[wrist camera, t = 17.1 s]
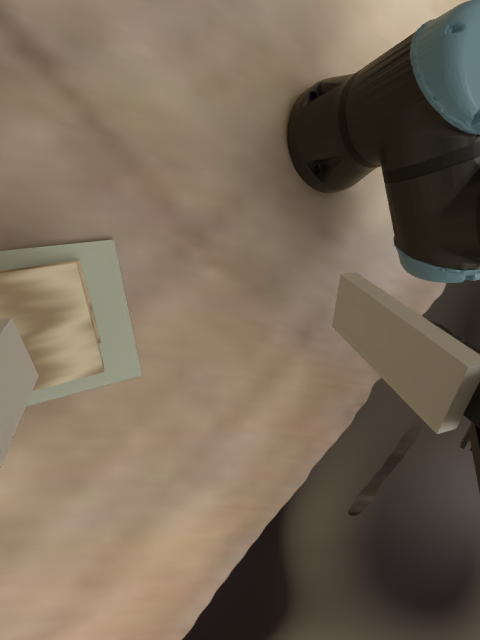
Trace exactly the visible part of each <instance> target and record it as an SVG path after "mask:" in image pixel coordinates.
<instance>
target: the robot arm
mask: <svg viewBox="0 0 480 640" xmlns="http://www.w3.org/2000/svg"><path fill="white" fill-rule="evenodd" d="M288 145H289V151H290V155H291V158H292V161H293V164H294V166H295V168H296V170H297V172H298V173H299V175H300V176H301V177H302V179H303V180H304V181H305V182H306V183H307V184H308V185H310V186H311V187H313V188H314V189H316V190H318V191H322V192H336V191H340V190H344V189H347V188H349V187H351V186H353V185H355V184H356V183H357V182H359V181H360V180H361V179H363V178H364V177H365V176H366V175H368V174H369V173H370V172H372V171H373V170H374V169H375V168H377V167H380V166H381V167H382V172H383V177H384V183H385V188H386V193H387V199H388V204H389V209H390V214H391V219H392V225H393V230H394V235H395V236H394V245H395V247H396V249H397V251H398V255H399V259H400V263H401V265H402V266H403V268H404V269H405V270H406V271H407V272H408V273H409V274H411V275H413V276H415V277H417V278H420V279H423V280H427V281H433V282H443V283H456V282H463V281H464V280H465V279H469V280H473V281H474V280H479V279H480V0H471V1H467V2H464V3H462V4H460V5H458V6H456V7H454V8H453V9H451V10H449V11H448V12H446V13H444V14H443V15H441V16H439V17H438V18H436V19H433V20H430V21H428V22H426V23H424V24H423V25H422V26H421V27H420V28H419V29H418V30H417V31H416V32H415V33H413V34H412V35H410V36H409V37H407V38H406V39H405V40H403V41H402V42H400V43H399V44H397V45H396V46H394V47H393V48H391V49H390V50H389V51H387V52H386V53H384V54H383V55H381V56H380V57H378V58H377V59H375V60H374V61H373V62H371V63H370V64H368V65H367V66H365V67H364V68H362V69H361V70H360V71H358V72H357V73H355V74H349V75H344V76H338V77H332V78H327V79H324V80H322V81H320V82H318V83H316V84H315V85H313V86H312V87H311V88H309V89H308V90H307V91H305V92H304V93H303V94H302V95H301V96H300V98H299V99H298V100H297V102H296V104H295V105H294V107H293V110H292V113H291V116H290V120H289V125H288ZM332 327H333V328H334V329H335V330H336V331H337V332H338V333H339V334H340V335H341V336H342V337H343V338H344V339H345V340H346V341H347V342H348V343H349V344H350V345H351V346H352V347H353V348H354V349H355V350H356V351H357V352H358V353H359V355H360V356H361V357H362V358H363V359H364V360H365V361H366V362H367V363H368V364H369V365H370V366H371V367H372V368H373V369H374V370H375V371H376V372H377V373H378V374H379V375H380V376H381V377H382V378H383V379H384V380H385V381H386V382H387V383H388V384H389V385H390V386H391V387H392V388H393V389H394V390H395V391H396V392H397V394H399V395H400V397H401V398H402V399H403V400H404V401H405V402H406V403H407V404H408V405H409V406H410V407H411V408H412V409H413V410H414V411H415V412H416V413H417V414H418V415H419V416H420V417H421V418H422V419H423V420H424V421H425V422H426V423H427V424H428V425H429V426H430V427H431V428H432V429H433V430H434V431H435V432H436V434H439V433H442V432H446V431H450V430H453V429H457V427H458V425H459V423H460V421H461V419H462V417H463V415H464V416H466V417H467V418H468V419H469V420H470V421H471V422H472V423H471V425H470V427H469V428H468V430H467V432H466V434H465V436H464V438H463V439H462V441H461V445H460V447H461V448H463V449H464V448H465V446H466V444H467V443H468V442H471V449H470V451H472V453H473V458H474V464H475V470H476V475H477V481H478V486H479V491H480V350H479V349H477V348H476V347H474V346H473V345H471V344H470V343H468V342H465V341H464V339H462V338H460V337H459V336H457V335H454V333H453V332H451V331H450V330H448V329H447V328H445V327H444V326H442V325H440V324H437V323H435V322H432V321H430V320H427V319H425V318H424V317H422V316H421V315H419V314H418V313H416V312H415V311H413V310H412V309H410V308H409V307H407V306H406V305H404V304H403V303H401V302H400V301H398V300H396V299H395V298H393V297H392V296H390V295H389V294H387V293H386V292H384V291H383V290H381V289H380V288H378V287H377V286H375V285H374V284H372V283H371V282H369V281H368V280H366V279H365V278H363V277H362V276H360V275H359V274H357V273H349V274H341V276H340V282H339V288H338V294H337V300H336V306H335V312H334V318H333V324H332ZM38 376H39V375H38V373H37V371H36V369H35V367H34V364H33V362H32V360H31V358H30V356H29V353H28V351H27V349H26V347H25V345H24V343H23V340H22V338H21V336H20V334H19V332H18V330H17V327H16V325H15V323H14V321H13V319H12V317H9V318H2V319H0V467H1V465H2V463H3V460H4V458H5V455H6V453H7V451H8V448H9V446H10V443H11V441H12V439H13V436H14V434H15V431H16V429H17V427H18V424H19V422H20V419H21V417H22V415H23V412H24V410H25V408H26V405H27V403H28V400H29V398H30V396H31V393H32V391H33V388H34V386H35V384H36V381H37V379H38Z"/></svg>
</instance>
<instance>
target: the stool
mask: <svg viewBox="0 0 480 640" xmlns="http://www.w3.org/2000/svg"><path fill="white" fill-rule="evenodd" d="M9 317H12V319H13V321H14V323H15V325H16V327H17V330H18V332H19V334H20V336H21V338H22V340H23V343H24V345H25V347H26V349H27V351H28V353H29V356H30V358H31V360H32V362H33V364H34V367H35V369H36V371H37V373H38V375H39V376H38V379H37V381H36V384H35V386H34V388H33V391H35V390H39V389H43V388H46V387H50V386H54V385H58V384H61V383H65V382H69V381H73V380H76V379H80V378H84V377H88V376H91V375H95V374H99V373H103V372H104V364H103V359H102V355H101V351H100V347H99V343H101V340H100V336H99V332H98V328H97V324H96V320H95V316H94V312H93V308H92V304H91V300H90V296H89V292H88V288H87V285H86V281H85V277H84V273H83V269H82V265H81V261H80V260H77V261H69V262H62V263H54V264H47V265H40V266H32V267H25V268H17V269H10V270H2V271H0V319H2V318H9Z"/></svg>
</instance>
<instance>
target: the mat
mask: <svg viewBox="0 0 480 640" xmlns="http://www.w3.org/2000/svg"><path fill="white" fill-rule="evenodd" d="M77 260H80V261H81V265H82V269H83V273H84V277H85V281H86V285H87V288H88V292H89V296H90V300H91V304H92V308H93V312H94V316H95V320H96V324H97V328H98V332H99V336H100V340H101V343H99V347H100V351H101V355H102V359H103V364H104V372H103V373H99V374H95V375H91V376H88V377H84V378H80V379H76V380H73V381H69V382H65V383H61V384H58V385H54V386H50V387H46V388H43V389H39V390H35V391H32V393H31V396H30V398H29V400H28V403H27V405H26V406H30V405H34V404H38V403H41V402H45V401H49V400H53V399H56V398H60V397H64V396H67V395H71V394H75V393H79V392H82V391H86V390H90V389H94V388H97V387H101V386H105V385H109V384H112V383H116V382H120V381H124V380H127V379H131V378H135V377H139V376H142V374H141V369H140V365H139V360H138V355H137V350H136V345H135V340H134V335H133V331H132V326H131V321H130V316H129V311H128V306H127V301H126V297H125V292H124V287H123V282H122V277H121V272H120V268H119V263H118V258H117V253H116V248H115V243H114V240H104V241H94V242H84V243H74V244H64V245H54V246H44V247H34V248H24V249H14V250H3V251H0V271H2V270H10V269H17V268H25V267H32V266H40V265H47V264H54V263H62V262H69V261H77Z"/></svg>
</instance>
